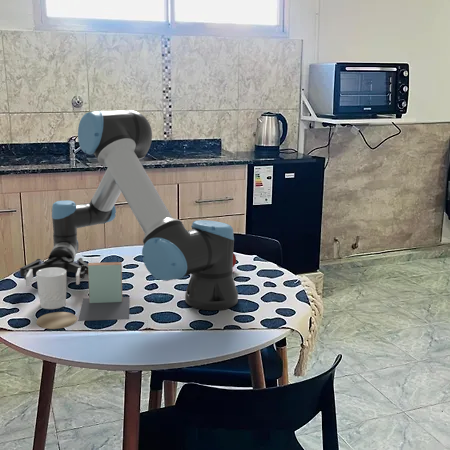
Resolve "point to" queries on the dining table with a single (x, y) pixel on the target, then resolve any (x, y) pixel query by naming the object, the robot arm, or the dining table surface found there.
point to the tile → (105, 282)
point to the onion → (234, 259)
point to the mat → (104, 310)
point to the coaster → (56, 320)
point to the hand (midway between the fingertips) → (52, 280)
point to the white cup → (52, 287)
